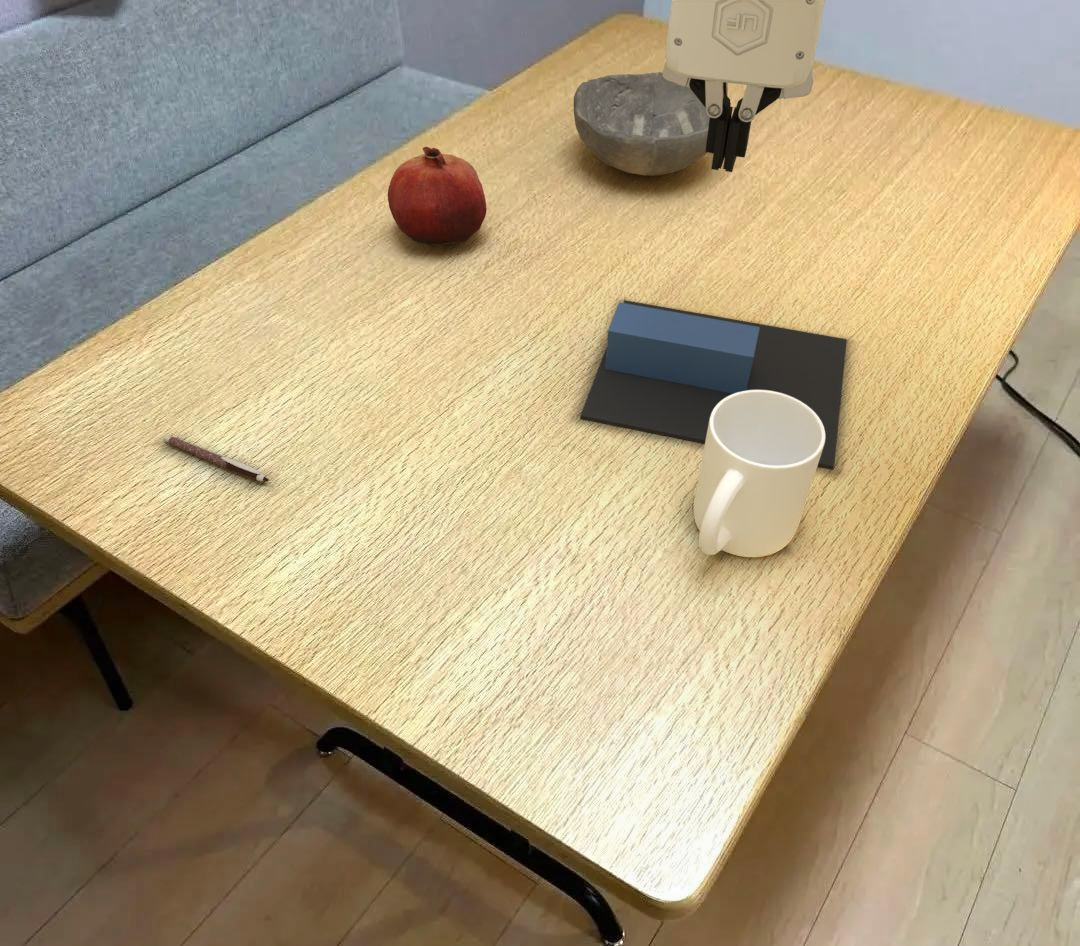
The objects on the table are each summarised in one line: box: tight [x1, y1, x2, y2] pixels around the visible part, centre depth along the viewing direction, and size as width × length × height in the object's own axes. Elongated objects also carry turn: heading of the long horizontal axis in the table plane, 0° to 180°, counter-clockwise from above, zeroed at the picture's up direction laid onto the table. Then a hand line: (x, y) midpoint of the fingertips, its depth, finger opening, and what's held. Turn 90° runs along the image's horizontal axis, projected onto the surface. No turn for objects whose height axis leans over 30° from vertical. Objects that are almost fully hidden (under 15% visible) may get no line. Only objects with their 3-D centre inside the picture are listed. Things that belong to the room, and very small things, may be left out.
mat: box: [579, 299, 848, 470], centre depth 87 cm, size 22×18×1 cm
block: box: [605, 302, 760, 394], centre depth 86 cm, size 4×4×13 cm
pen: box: [162, 435, 270, 482], centre depth 79 cm, size 11×1×1 cm, turn 63°
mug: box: [693, 390, 825, 558], centre depth 71 cm, size 12×8×10 cm
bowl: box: [573, 71, 710, 176], centre depth 113 cm, size 18×18×8 cm
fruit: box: [387, 146, 488, 246], centre depth 100 cm, size 11×10×10 cm
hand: (724, 162), depth 73 cm, fingers closed
